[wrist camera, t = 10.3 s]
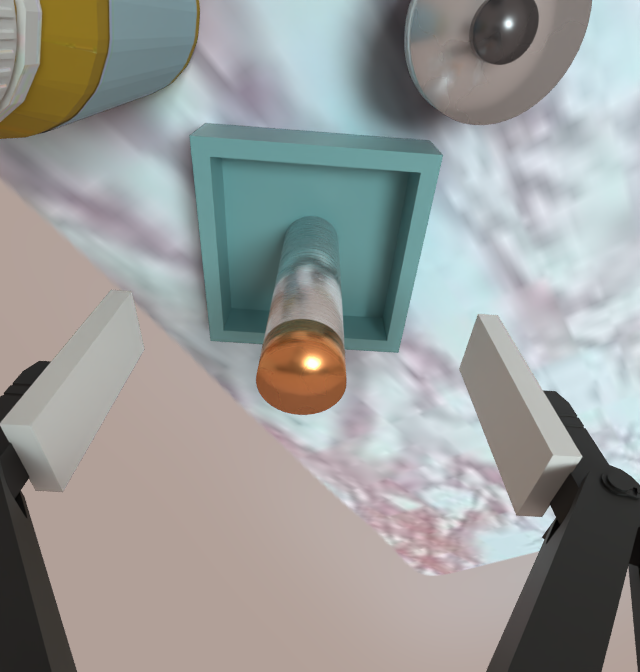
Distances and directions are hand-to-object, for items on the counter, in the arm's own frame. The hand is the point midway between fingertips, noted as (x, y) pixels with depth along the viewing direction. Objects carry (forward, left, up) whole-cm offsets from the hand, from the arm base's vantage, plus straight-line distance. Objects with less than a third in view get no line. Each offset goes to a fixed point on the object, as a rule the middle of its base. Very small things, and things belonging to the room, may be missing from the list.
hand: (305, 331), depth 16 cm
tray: (0, 0, -9) cm, 9 cm away
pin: (0, 0, -9) cm, 9 cm away
